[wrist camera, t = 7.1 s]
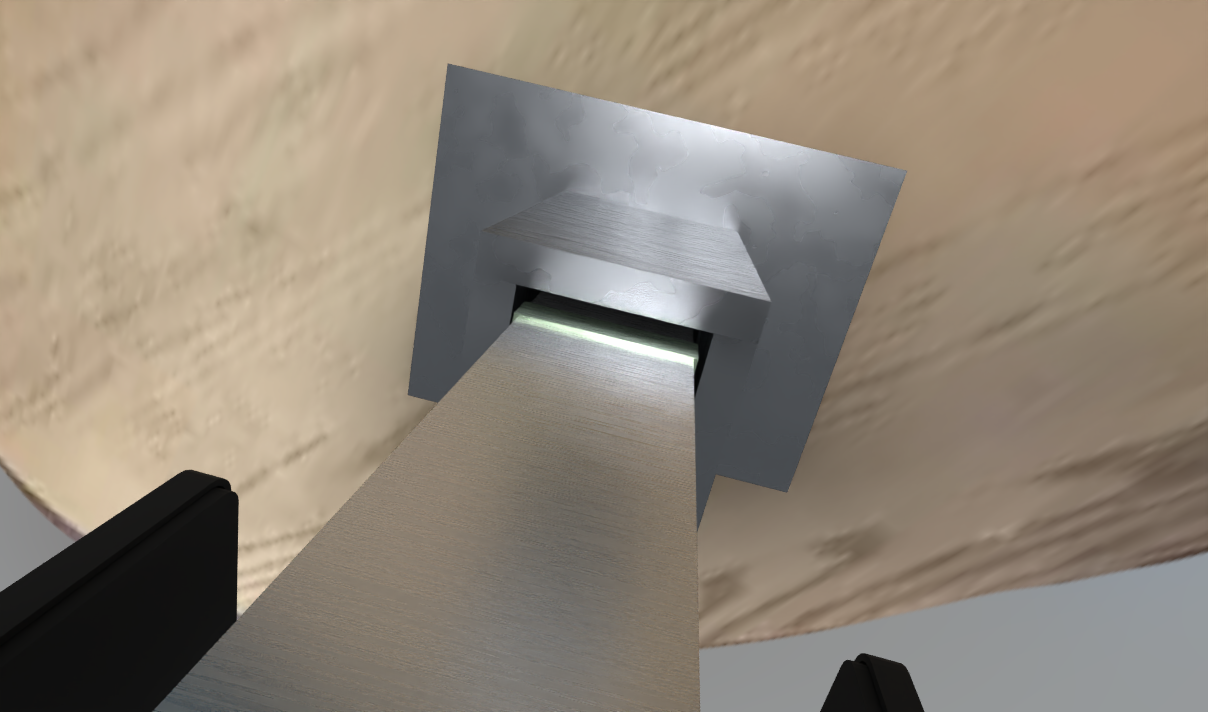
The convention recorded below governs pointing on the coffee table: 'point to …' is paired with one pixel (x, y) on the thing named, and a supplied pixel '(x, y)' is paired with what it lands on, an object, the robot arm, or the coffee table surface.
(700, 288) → the stand housing
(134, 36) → the coffee table surface
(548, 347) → the column
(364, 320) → the coffee table surface
